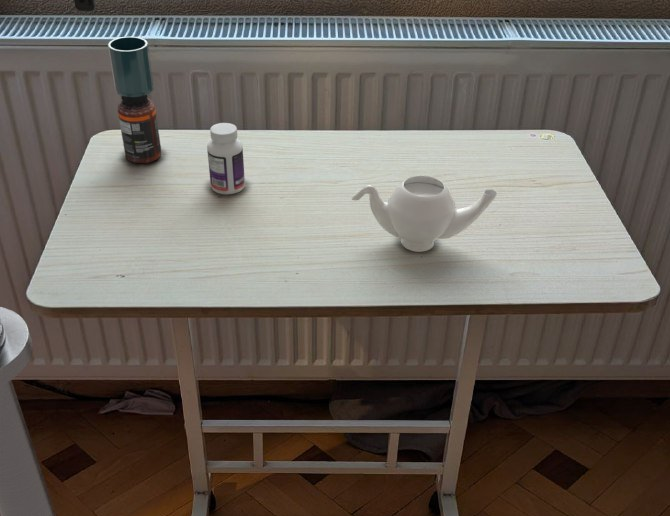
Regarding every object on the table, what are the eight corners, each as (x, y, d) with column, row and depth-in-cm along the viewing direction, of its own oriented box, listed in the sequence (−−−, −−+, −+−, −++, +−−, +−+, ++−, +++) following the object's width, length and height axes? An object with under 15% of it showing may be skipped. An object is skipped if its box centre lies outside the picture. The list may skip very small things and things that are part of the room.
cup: (129, 100, 127) (122, 54, 122) (108, 88, 130) (100, 43, 125) (160, 90, 130) (155, 44, 125) (139, 78, 133) (132, 33, 128)
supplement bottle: (152, 144, 141) (143, 78, 133) (167, 159, 137) (159, 92, 129) (119, 153, 138) (108, 86, 130) (134, 168, 135) (123, 100, 127)
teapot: (353, 219, 125) (356, 162, 119) (486, 232, 124) (496, 175, 117) (345, 254, 118) (347, 196, 112) (486, 268, 117) (496, 210, 110)
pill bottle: (239, 176, 134) (236, 118, 127) (249, 192, 130) (246, 133, 123) (206, 181, 132) (201, 123, 126) (215, 197, 129) (210, 138, 122)
